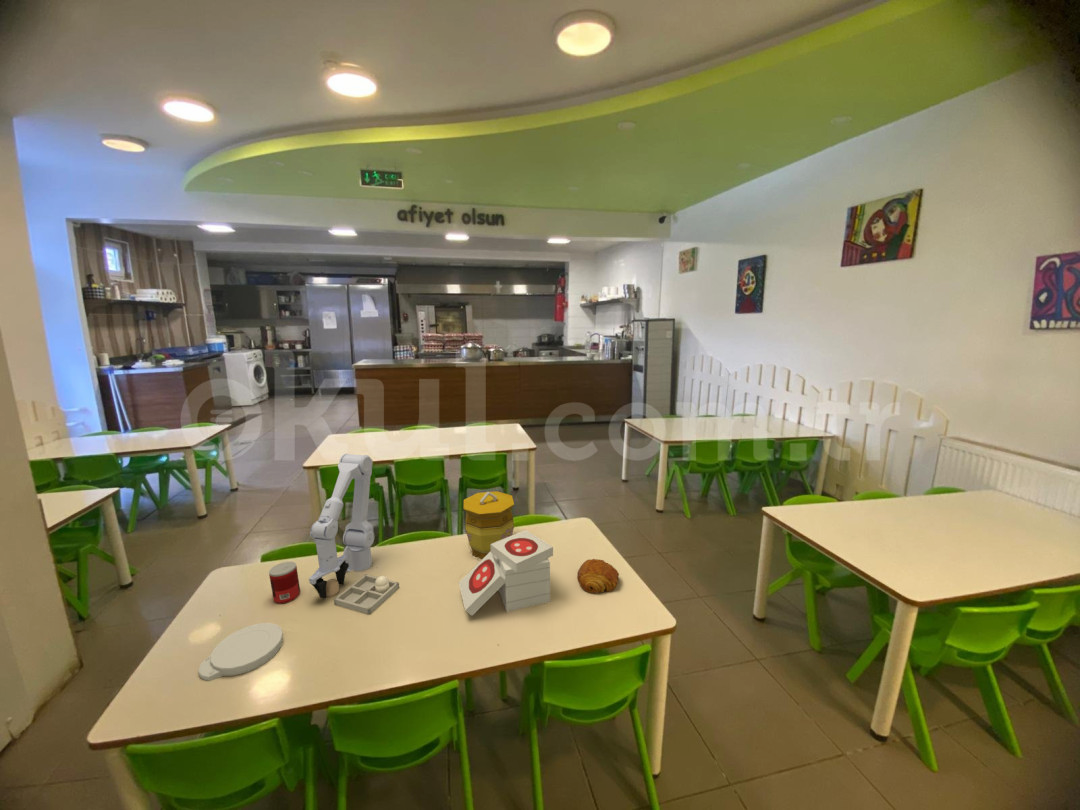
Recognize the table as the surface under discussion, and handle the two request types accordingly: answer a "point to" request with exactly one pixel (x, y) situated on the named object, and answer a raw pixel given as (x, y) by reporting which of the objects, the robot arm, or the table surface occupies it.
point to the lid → (242, 651)
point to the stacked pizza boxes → (510, 574)
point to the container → (488, 520)
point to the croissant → (597, 576)
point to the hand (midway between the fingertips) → (332, 590)
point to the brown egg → (332, 587)
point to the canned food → (284, 582)
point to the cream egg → (382, 584)
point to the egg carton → (364, 595)
